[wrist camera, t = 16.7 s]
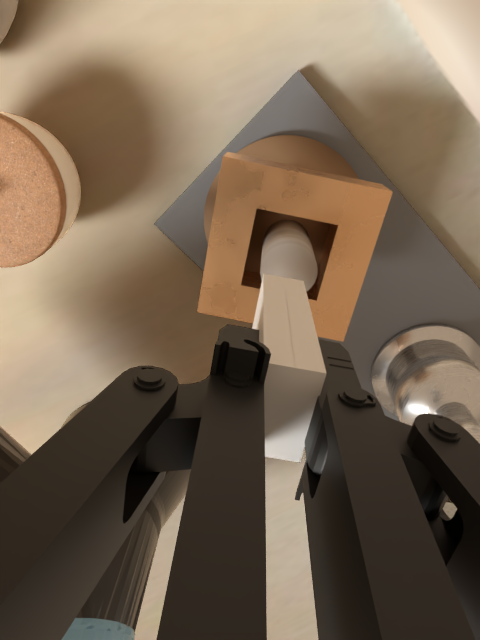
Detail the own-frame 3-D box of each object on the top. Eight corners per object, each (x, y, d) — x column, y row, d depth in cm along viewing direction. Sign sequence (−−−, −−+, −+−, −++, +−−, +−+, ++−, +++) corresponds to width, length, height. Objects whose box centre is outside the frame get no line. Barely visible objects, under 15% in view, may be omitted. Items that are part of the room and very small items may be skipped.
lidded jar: (74, 262, 41) (22, 301, 33) (-40, 202, 39) (-126, 227, 31) (119, 153, 37) (73, 165, 28) (-7, 80, 35) (-96, 71, 27)
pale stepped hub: (456, 424, 44) (515, 524, 34) (356, 404, 44) (383, 499, 33) (501, 335, 40) (584, 418, 29) (390, 312, 40) (433, 387, 29)
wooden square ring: (337, 322, 33) (343, 341, 30) (203, 295, 33) (196, 312, 30) (381, 184, 29) (392, 191, 26) (227, 151, 29) (222, 156, 26)
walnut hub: (339, 307, 40) (366, 389, 28) (194, 278, 40) (161, 348, 28) (387, 154, 34) (445, 177, 23) (219, 118, 34) (191, 123, 22)
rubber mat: (541, 365, 42) (548, 371, 41) (398, 453, 48) (401, 461, 47) (297, 71, 33) (298, 69, 32) (157, 220, 39) (153, 223, 38)
